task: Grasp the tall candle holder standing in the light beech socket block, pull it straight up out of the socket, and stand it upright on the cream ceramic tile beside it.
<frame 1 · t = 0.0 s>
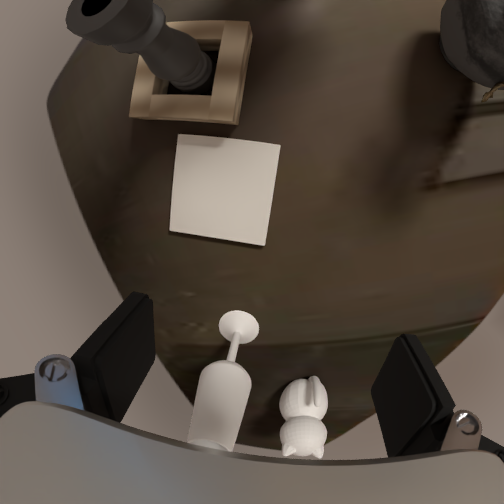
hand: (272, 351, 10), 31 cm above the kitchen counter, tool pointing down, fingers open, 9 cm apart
ceramic tile: (222, 188, 39), on the kitchen counter
socket block: (196, 75, 34), on the kitchen counter
champagne flute: (238, 327, 47), on the kitchen counter
candle holder: (196, 75, 34), resting in socket block
pitcher: (456, 60, 28), on the kitchen counter
cat figurine: (304, 387, 50), on the kitchen counter
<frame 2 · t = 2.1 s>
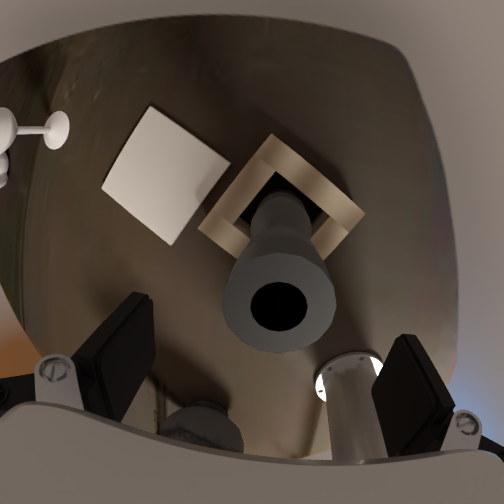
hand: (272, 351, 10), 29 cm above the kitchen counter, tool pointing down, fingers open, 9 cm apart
ceramic tile: (161, 175, 37), on the kitchen counter
socket block: (281, 212, 37), on the kitchen counter
champagne flute: (56, 130, 37), on the kitchen counter
candle holder: (281, 211, 38), resting in socket block
pitcher: (202, 407, 51), on the kitchen counter
cat figurine: (3, 166, 39), on the kitchen counter
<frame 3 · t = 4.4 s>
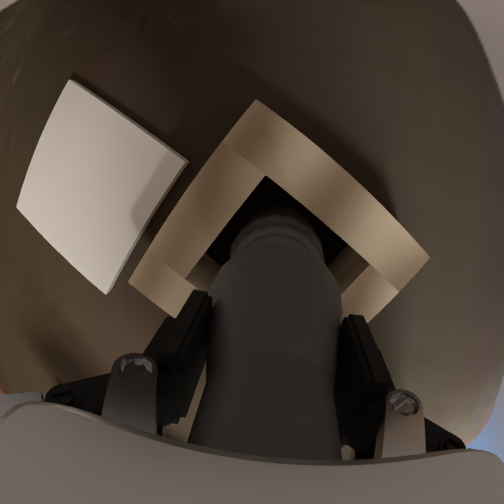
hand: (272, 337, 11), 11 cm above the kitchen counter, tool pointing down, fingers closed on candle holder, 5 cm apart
ceramic tile: (85, 185, 21), on the kitchen counter
socket block: (277, 246, 22), on the kitchen counter
candle holder: (277, 245, 22), resting in socket block, touching gripper
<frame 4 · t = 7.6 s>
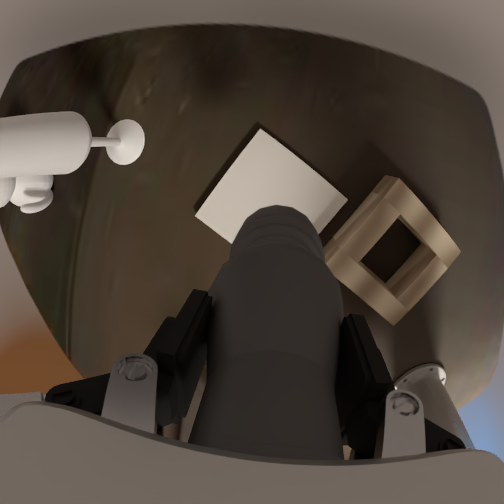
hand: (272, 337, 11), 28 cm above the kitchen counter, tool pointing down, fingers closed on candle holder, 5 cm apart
ceramic tile: (270, 205, 37), on the kitchen counter
socket block: (386, 246, 37), on the kitchen counter
champagne flute: (125, 142, 36), on the kitchen counter
candle holder: (277, 244, 22), point 16 cm above the kitchen counter, touching gripper
cat figurine: (44, 179, 39), on the kitchen counter
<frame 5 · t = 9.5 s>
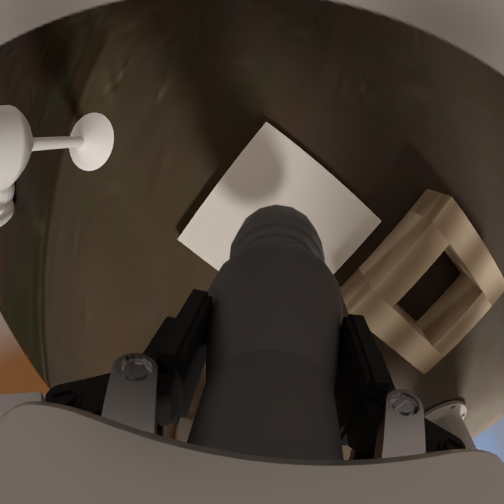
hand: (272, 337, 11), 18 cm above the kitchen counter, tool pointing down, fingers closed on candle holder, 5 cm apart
ceramic tile: (278, 226, 28), on the kitchen counter
socket block: (422, 278, 28), on the kitchen counter
champagne flute: (91, 141, 26), on the kitchen counter
candle holder: (277, 244, 22), point 6 cm above the kitchen counter, touching gripper
cat figurine: (6, 188, 29), on the kitchen counter
when the fingers open (14 cm above the kitchen counter, at t = 11.1 s): candle holder drops 1 cm, resting on ceramic tile.
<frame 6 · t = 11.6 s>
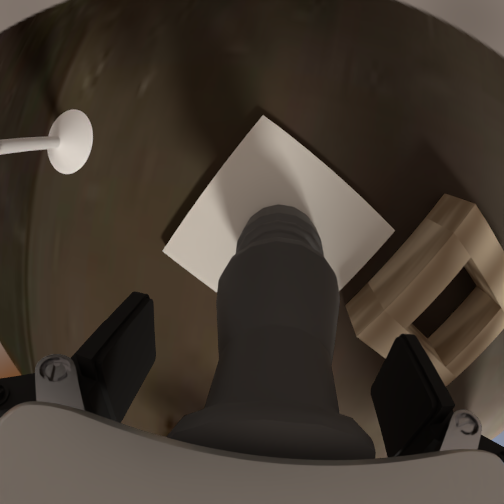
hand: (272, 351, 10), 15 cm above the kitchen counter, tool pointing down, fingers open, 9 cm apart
ceramic tile: (277, 236, 24), on the kitchen counter
socket block: (436, 293, 24), on the kitchen counter
champagne flute: (69, 141, 23), on the kitchen counter
candle holder: (279, 242, 23), point 1 cm above the kitchen counter, touching ceramic tile
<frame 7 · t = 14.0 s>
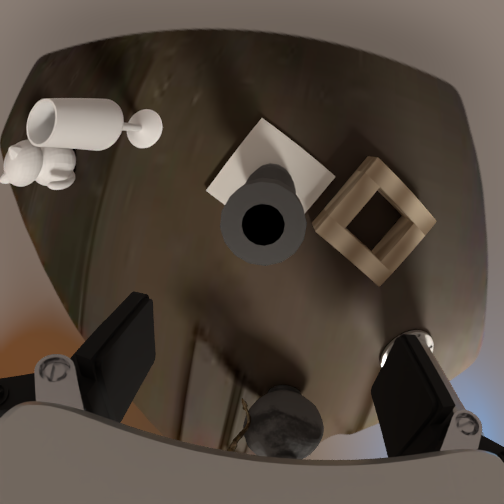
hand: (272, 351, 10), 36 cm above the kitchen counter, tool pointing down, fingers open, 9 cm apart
ceramic tile: (270, 181, 43), on the kitchen counter
socket block: (370, 217, 44), on the kitchen counter
champagne flute: (144, 128, 42), on the kitchen counter
candle holder: (271, 183, 42), point 1 cm above the kitchen counter, touching ceramic tile
pitcher: (278, 391, 58), on the kitchen counter
cat figurine: (66, 162, 45), on the kitchen counter
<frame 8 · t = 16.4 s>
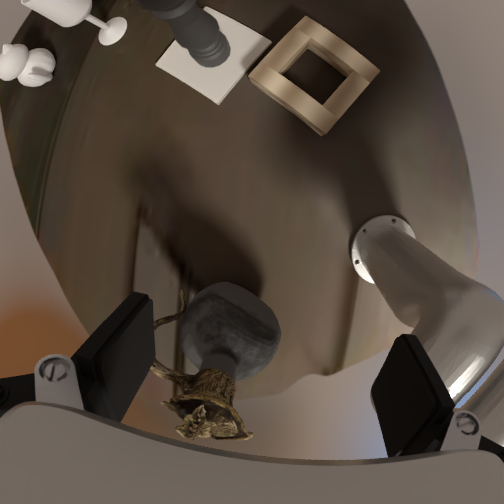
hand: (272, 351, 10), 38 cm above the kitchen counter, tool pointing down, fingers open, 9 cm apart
ceramic tile: (212, 52, 39), on the kitchen counter
socket block: (313, 78, 39), on the kitchen counter
champagne flute: (112, 31, 38), on the kitchen counter
candle holder: (212, 51, 38), point 1 cm above the kitchen counter, touching ceramic tile
pitcher: (230, 298, 53), on the kitchen counter
cat figurine: (47, 70, 40), on the kitchen counter
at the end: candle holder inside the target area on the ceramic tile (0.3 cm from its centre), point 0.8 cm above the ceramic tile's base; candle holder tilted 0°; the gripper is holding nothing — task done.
